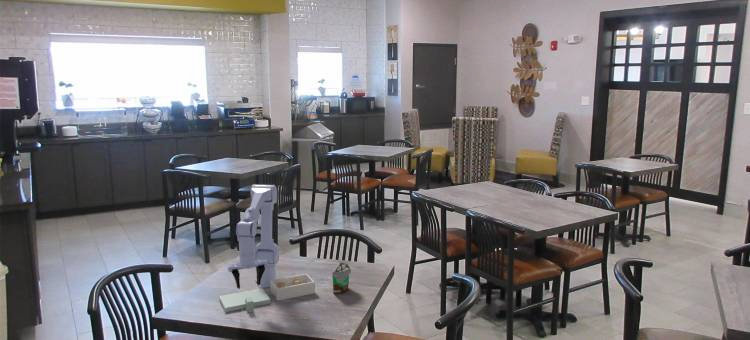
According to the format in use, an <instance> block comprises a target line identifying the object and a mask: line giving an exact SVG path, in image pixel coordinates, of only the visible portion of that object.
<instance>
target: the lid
mask: <svg viewBox="0 0 750 340" xmlns="http://www.w3.org/2000/svg"><path fill="white" fill-rule="evenodd" d="M218 300H219V302H220V304H221V306H222V308H223V310H224V312H225V313H228V312H234V311H238V310H239V311H240V310H244V309H246V312H247V313H251V312H252V313H253V312H254V310H255V309H254V308H255V307H260V306H265V305H270V304H271V298H270V297H269V295H268V294H267V292H266V291H265V289H264V288H257V289H251V290H245V291H241V292H235V293H229V294H224V295H219V298H218Z"/></svg>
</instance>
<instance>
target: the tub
mask: <svg viewBox="0 0 750 340" xmlns="http://www.w3.org/2000/svg"><path fill="white" fill-rule="evenodd" d="M269 288H270V291H269V292H270V294H272V296H273V297H274V298H275V300H276V301H283V300H288V299H294V298H298V297H303V296H308V295H313V294H316V282H315V281H314V280H313V278H312V277H310V276H309V274H308V273H302V274H297V275H290V276H285V277H280V278H276V279H273V280H270V287H269Z"/></svg>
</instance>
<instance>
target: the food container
mask: <svg viewBox="0 0 750 340" xmlns="http://www.w3.org/2000/svg"><path fill="white" fill-rule="evenodd" d="M351 273H352V269H351V266H350V265H349V264H348V263H345V262H339V265H338V267H336V269H335V271H332V273H331V274H332V288H333V289H332V290H333V291H332V292H333V295H341V294H344V293H347V292H348V291H349V284H350V282H349V281H350V274H351Z"/></svg>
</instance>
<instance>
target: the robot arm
mask: <svg viewBox="0 0 750 340" xmlns="http://www.w3.org/2000/svg"><path fill="white" fill-rule="evenodd" d="M277 188H278V187H277V186H276V185H275V184H256V183H255V184H252V185H251V187H250V199H251V202H250V207H248V208H246V209H245V212H244V214H243V217H242V218H241V221H239V222H237V223H236V227H235V235H236V237H237V242H238V248H239V249H238V251H239V262H236V263H233V264H228V265H227V271H228V273H231V274H232V276H233V278H234V281H235V283H236V284H235V285H236V288H237V289H241V283H240V281H241V280H240V276H241V275H240V271H241V270H246V269H247V270H248V269H253V268H255V270H256V279H255V283H256V285H257V286H259V289H261V288H263V289H265V288H270V280H273V279H277V275H276V272H277V271H276V265H277V264H278V263H279V261H280V250H279V245H278V244H276V243H275V242H274V241H273V209H274V208H273V206H274V204H277V202H278V189H277ZM259 219H260V242H258V243H257V244H256V243H255V242H256V241H255V237H256V235H257V228H258V221H259Z"/></svg>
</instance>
